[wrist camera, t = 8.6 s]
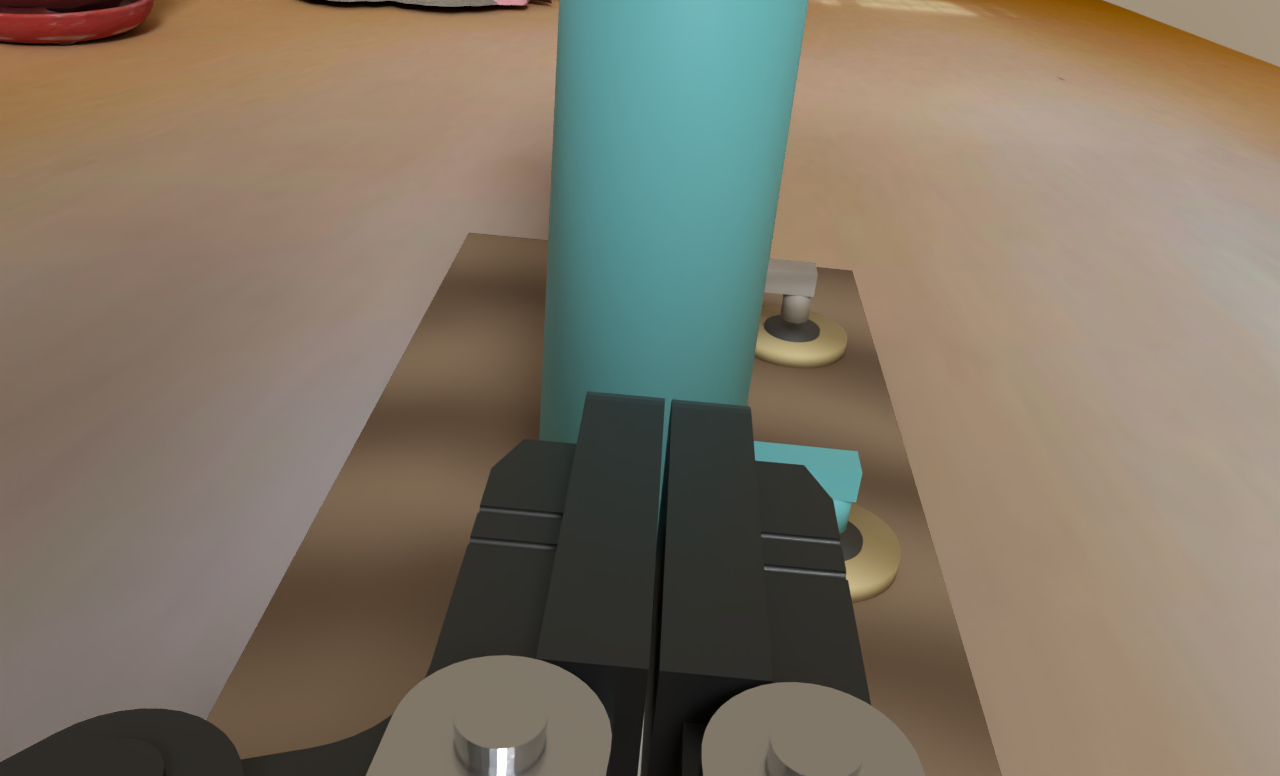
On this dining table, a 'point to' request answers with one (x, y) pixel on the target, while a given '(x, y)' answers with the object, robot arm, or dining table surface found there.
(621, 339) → the teal lever handle
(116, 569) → the dining table surface
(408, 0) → the pastel sphere sculpture
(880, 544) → the gauge board
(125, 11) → the plant pot
